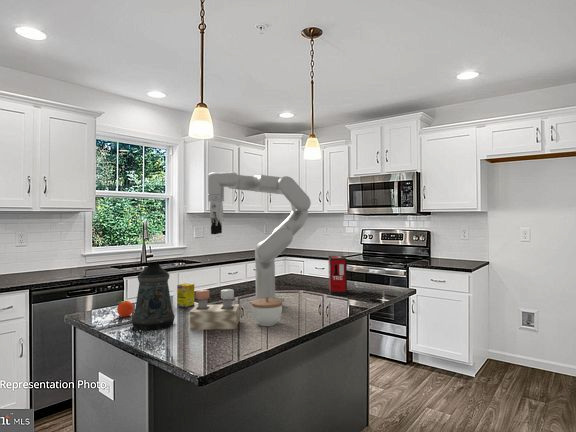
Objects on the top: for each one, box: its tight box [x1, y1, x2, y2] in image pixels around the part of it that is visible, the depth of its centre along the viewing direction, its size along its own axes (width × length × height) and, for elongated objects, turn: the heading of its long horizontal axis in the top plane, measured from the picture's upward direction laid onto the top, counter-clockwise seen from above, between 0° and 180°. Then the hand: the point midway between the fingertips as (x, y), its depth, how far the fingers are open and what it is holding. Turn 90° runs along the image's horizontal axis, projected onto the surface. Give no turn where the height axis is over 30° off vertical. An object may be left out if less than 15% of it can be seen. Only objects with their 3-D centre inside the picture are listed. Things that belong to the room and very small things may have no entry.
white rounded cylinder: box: [220, 288, 235, 309], centre depth 162 cm, size 5×5×9 cm
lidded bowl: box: [251, 297, 283, 327], centre depth 163 cm, size 13×13×11 cm
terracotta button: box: [195, 289, 210, 310], centre depth 162 cm, size 5×5×9 cm
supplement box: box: [176, 282, 195, 309], centre depth 195 cm, size 6×6×11 cm
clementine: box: [116, 300, 135, 318], centre depth 177 cm, size 8×7×7 cm
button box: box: [189, 303, 240, 331], centre depth 162 cm, size 18×12×7 cm, turn 91°
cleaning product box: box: [328, 255, 348, 296], centre depth 228 cm, size 16×9×20 cm, turn 178°
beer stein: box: [131, 262, 175, 332], centre depth 163 cm, size 16×19×25 cm
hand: (216, 233), depth 193 cm, fingers open, 9 cm apart
